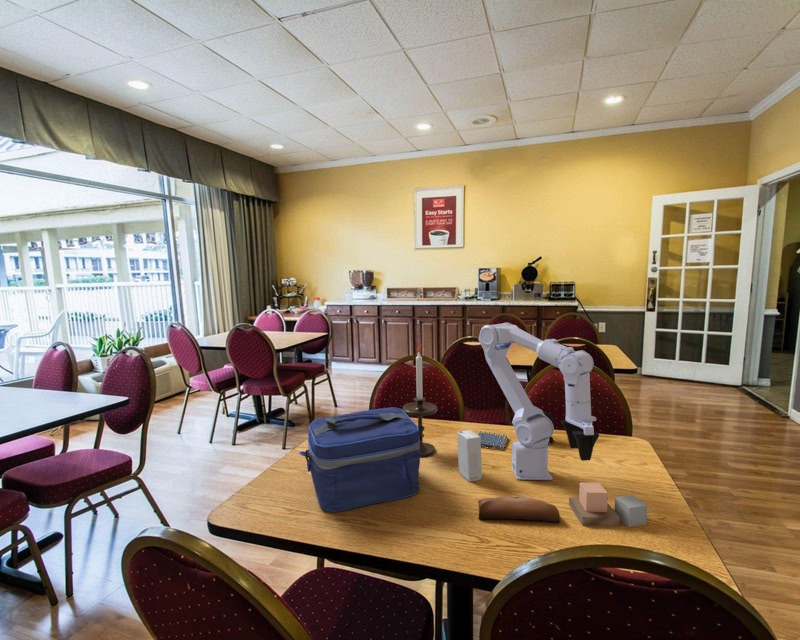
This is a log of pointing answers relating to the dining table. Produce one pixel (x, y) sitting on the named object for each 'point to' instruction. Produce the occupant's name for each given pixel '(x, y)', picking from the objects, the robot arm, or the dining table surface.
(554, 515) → the sunglasses case
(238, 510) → the dining table surface
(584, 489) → the terracotta cube
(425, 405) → the candlestick
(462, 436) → the skincare box
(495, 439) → the woven mat
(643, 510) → the grey cube
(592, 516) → the walnut slab
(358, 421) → the lunch bag
